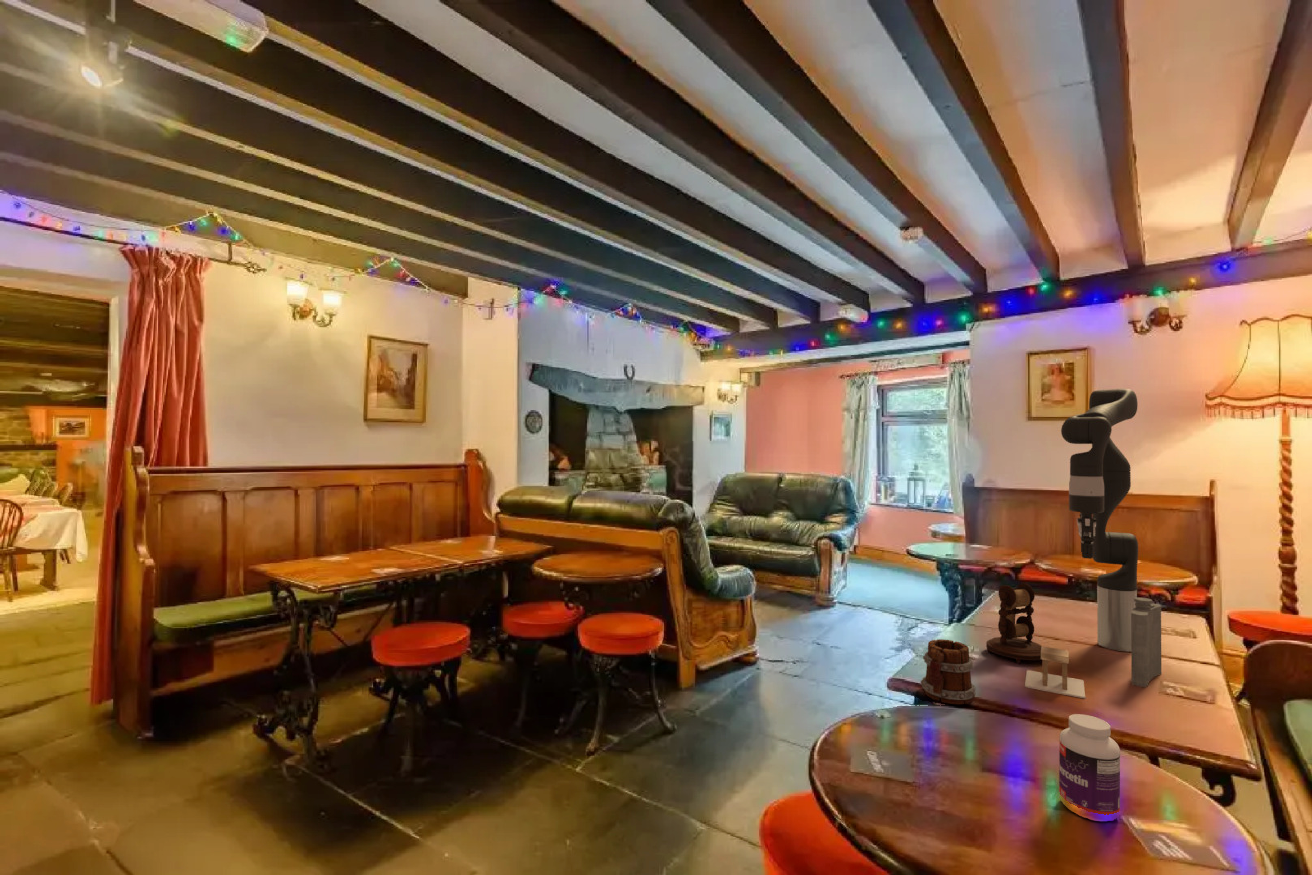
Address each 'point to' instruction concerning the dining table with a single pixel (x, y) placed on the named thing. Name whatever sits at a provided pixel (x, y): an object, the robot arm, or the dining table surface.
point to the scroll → (1015, 625)
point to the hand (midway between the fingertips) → (1086, 555)
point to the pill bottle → (1089, 765)
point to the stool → (1055, 656)
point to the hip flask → (1145, 641)
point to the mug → (948, 672)
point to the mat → (1055, 684)
